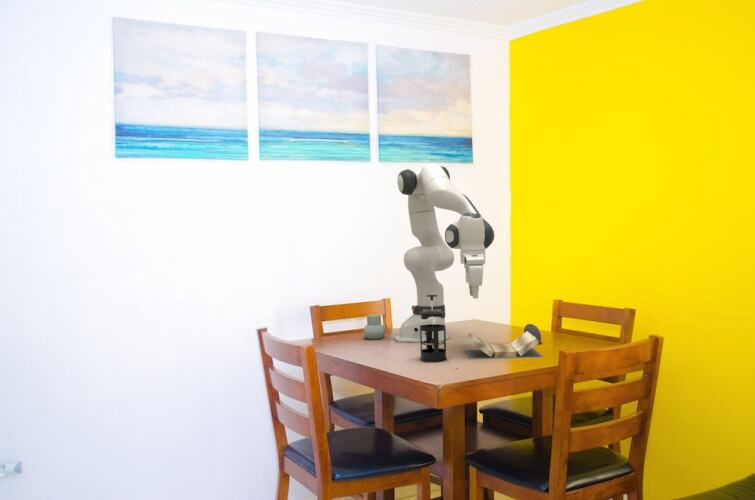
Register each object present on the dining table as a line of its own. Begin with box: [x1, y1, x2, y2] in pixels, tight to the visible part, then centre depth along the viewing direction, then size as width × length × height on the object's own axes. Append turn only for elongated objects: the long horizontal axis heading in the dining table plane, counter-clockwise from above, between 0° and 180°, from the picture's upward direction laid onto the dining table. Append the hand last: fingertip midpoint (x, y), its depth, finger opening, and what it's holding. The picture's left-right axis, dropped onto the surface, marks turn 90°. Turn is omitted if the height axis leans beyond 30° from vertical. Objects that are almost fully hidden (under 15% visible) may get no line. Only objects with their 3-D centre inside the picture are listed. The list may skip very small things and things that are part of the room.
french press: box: [419, 295, 448, 363], centre depth 248 cm, size 12×9×23 cm
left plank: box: [466, 332, 494, 357], centre depth 251 cm, size 8×16×2 cm
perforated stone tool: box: [523, 323, 542, 345], centre depth 275 cm, size 15×5×7 cm, turn 179°
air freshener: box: [363, 313, 385, 340], centre depth 299 cm, size 11×8×10 cm
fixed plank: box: [488, 343, 517, 359], centre depth 251 cm, size 7×16×2 cm, turn 179°
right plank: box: [509, 331, 539, 356], centre depth 251 cm, size 8×16×2 cm
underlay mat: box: [463, 347, 544, 360], centre depth 251 cm, size 26×18×1 cm
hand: (473, 297), depth 251 cm, fingers open, 8 cm apart
